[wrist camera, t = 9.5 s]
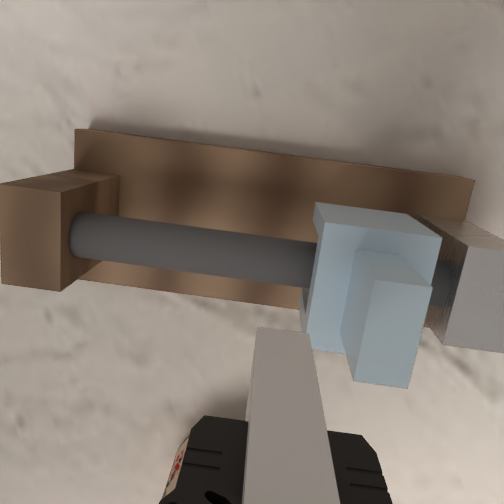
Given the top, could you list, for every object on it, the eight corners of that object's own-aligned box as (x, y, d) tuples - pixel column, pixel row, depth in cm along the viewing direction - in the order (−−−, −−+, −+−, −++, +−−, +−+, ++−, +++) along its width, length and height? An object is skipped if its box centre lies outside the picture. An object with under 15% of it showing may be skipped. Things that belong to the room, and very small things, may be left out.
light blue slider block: (298, 303, 26) (309, 398, 17) (315, 202, 24) (336, 246, 15) (384, 315, 26) (441, 417, 17) (406, 213, 24) (484, 265, 15)
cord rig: (85, 269, 32) (3, 329, 23) (88, 129, 30) (-4, 129, 20) (426, 316, 32) (490, 397, 22) (461, 177, 29) (551, 200, 19)
